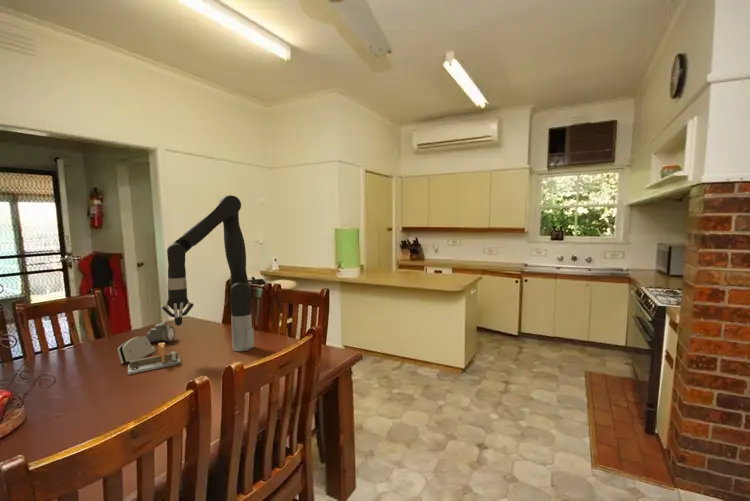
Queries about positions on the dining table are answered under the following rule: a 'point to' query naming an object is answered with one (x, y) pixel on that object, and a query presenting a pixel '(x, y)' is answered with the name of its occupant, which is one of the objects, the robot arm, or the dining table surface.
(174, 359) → the grey piece
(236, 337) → the robot arm
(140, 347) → the hinge
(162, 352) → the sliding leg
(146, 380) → the dining table surface
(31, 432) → the dining table surface
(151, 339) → the pipe fitting
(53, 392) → the dining table surface
